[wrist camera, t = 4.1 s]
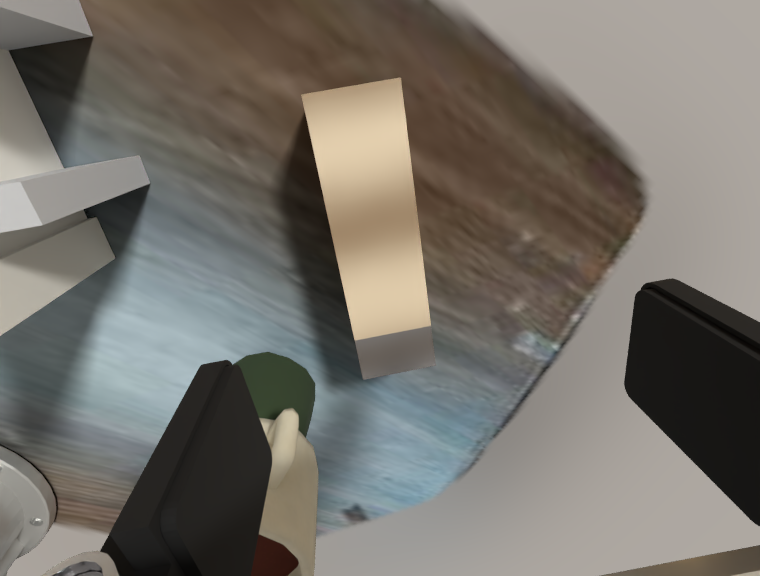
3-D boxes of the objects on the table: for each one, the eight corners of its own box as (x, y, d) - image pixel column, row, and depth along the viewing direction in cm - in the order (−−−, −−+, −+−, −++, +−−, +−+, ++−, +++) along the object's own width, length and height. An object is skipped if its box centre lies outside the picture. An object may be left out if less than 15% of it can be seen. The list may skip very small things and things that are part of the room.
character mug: (253, 302, 26) (184, 466, 14) (352, 344, 28) (366, 519, 16) (193, 424, 29) (95, 642, 17) (285, 454, 31) (255, 667, 19)
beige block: (415, 314, 27) (435, 365, 22) (357, 325, 27) (363, 379, 22) (383, 86, 21) (400, 77, 16) (309, 99, 21) (301, 94, 16)
